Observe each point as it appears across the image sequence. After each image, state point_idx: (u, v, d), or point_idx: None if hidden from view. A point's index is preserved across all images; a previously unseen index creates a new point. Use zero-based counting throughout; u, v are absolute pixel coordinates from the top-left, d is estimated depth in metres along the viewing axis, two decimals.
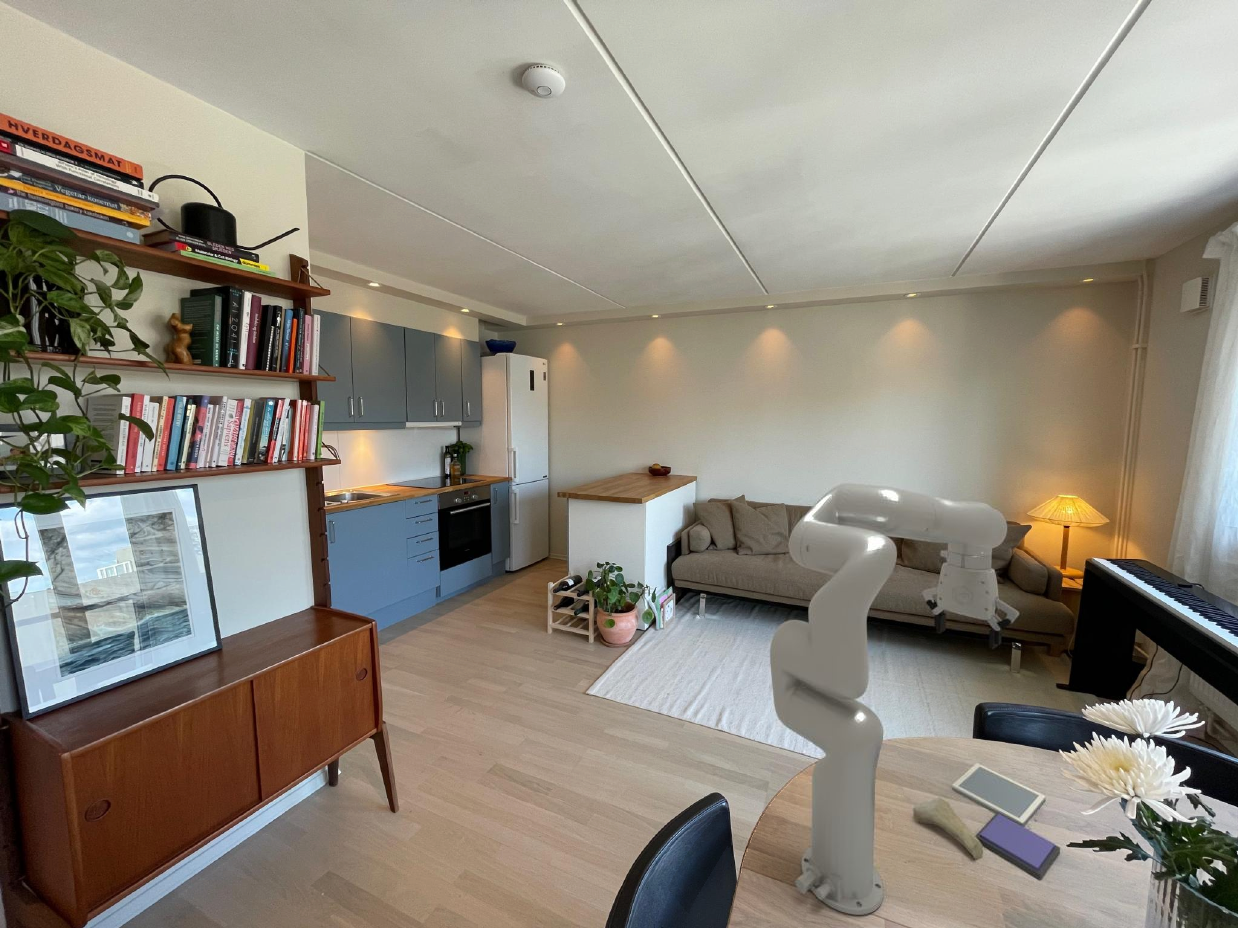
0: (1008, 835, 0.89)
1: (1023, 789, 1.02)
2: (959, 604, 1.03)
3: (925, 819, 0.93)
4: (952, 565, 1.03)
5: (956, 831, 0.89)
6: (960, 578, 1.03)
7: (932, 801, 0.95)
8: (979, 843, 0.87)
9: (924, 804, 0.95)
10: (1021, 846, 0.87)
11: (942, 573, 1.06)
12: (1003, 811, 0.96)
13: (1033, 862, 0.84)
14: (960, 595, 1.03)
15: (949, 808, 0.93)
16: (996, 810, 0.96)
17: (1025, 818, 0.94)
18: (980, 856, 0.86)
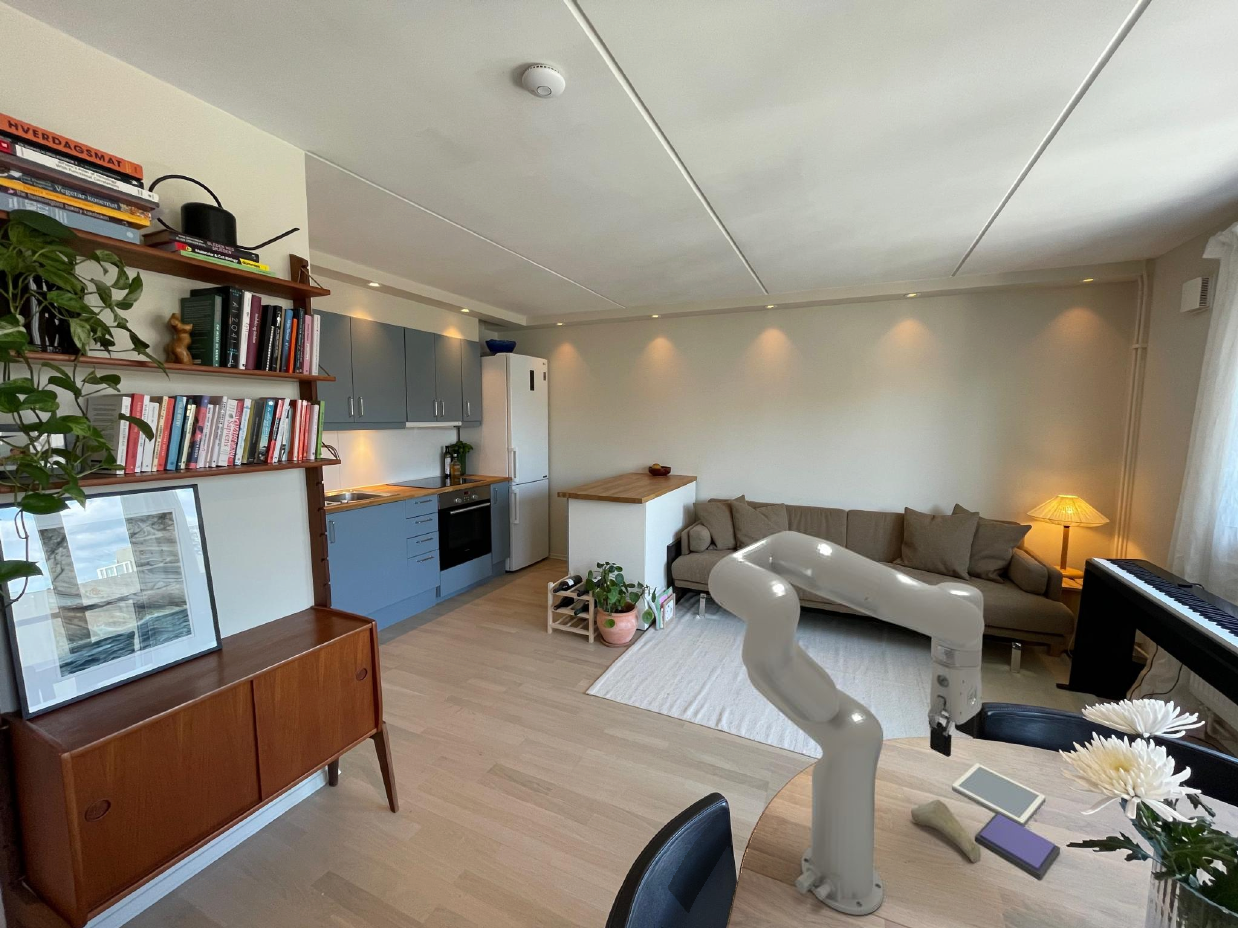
0: (1008, 835, 0.89)
1: (1023, 789, 1.02)
2: (970, 708, 0.87)
3: (923, 822, 0.93)
4: (971, 667, 0.85)
5: (953, 834, 0.89)
6: (971, 678, 0.87)
7: (930, 803, 0.94)
8: (977, 846, 0.87)
9: (922, 806, 0.94)
10: (1021, 846, 0.87)
11: (960, 682, 0.85)
12: (1003, 811, 0.96)
13: (1033, 862, 0.84)
14: (971, 697, 0.87)
15: (947, 810, 0.92)
16: (996, 810, 0.96)
17: (1025, 818, 0.94)
18: (978, 859, 0.86)
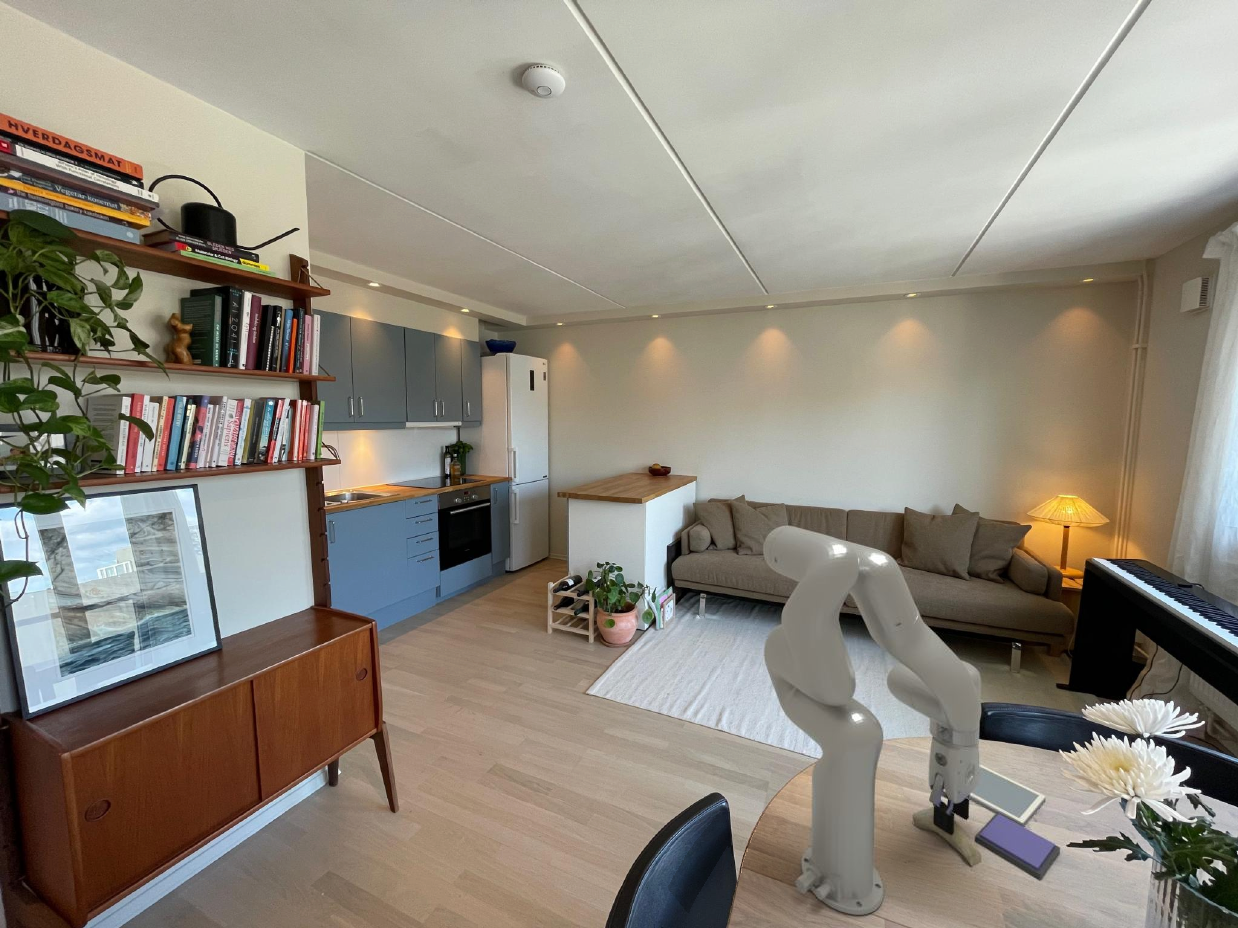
0: (1008, 835, 0.89)
1: (1023, 789, 1.02)
2: (968, 785, 0.88)
3: (924, 826, 0.93)
4: (968, 746, 0.86)
5: (954, 839, 0.88)
6: (969, 756, 0.88)
7: (932, 808, 0.94)
8: (977, 852, 0.86)
9: (923, 811, 0.94)
10: (1021, 846, 0.87)
11: (958, 761, 0.86)
12: (1003, 811, 0.96)
13: (1033, 862, 0.84)
14: (968, 775, 0.88)
15: None
16: (996, 810, 0.96)
17: (1025, 818, 0.94)
18: None
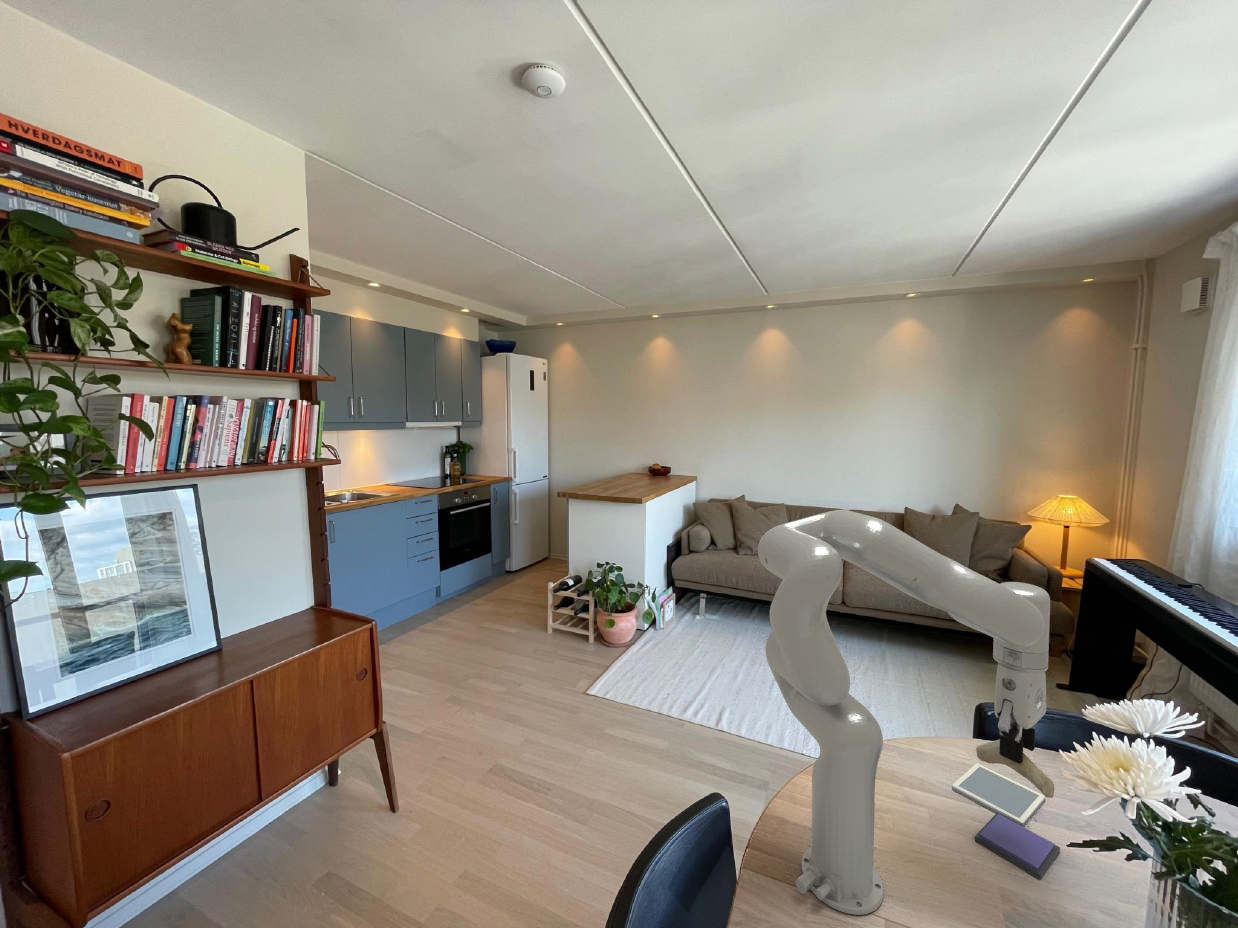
0: (1008, 835, 0.89)
1: (1023, 789, 1.02)
2: (1037, 711, 0.84)
3: (989, 758, 0.89)
4: (1038, 669, 0.83)
5: (1024, 769, 0.84)
6: (1038, 680, 0.84)
7: (997, 741, 0.90)
8: (1050, 781, 0.82)
9: (988, 743, 0.90)
10: (1021, 846, 0.87)
11: (1028, 685, 0.82)
12: (1003, 811, 0.96)
13: (1033, 862, 0.84)
14: (1037, 700, 0.84)
15: None
16: (996, 810, 0.96)
17: (1025, 818, 0.94)
18: (1051, 794, 0.82)
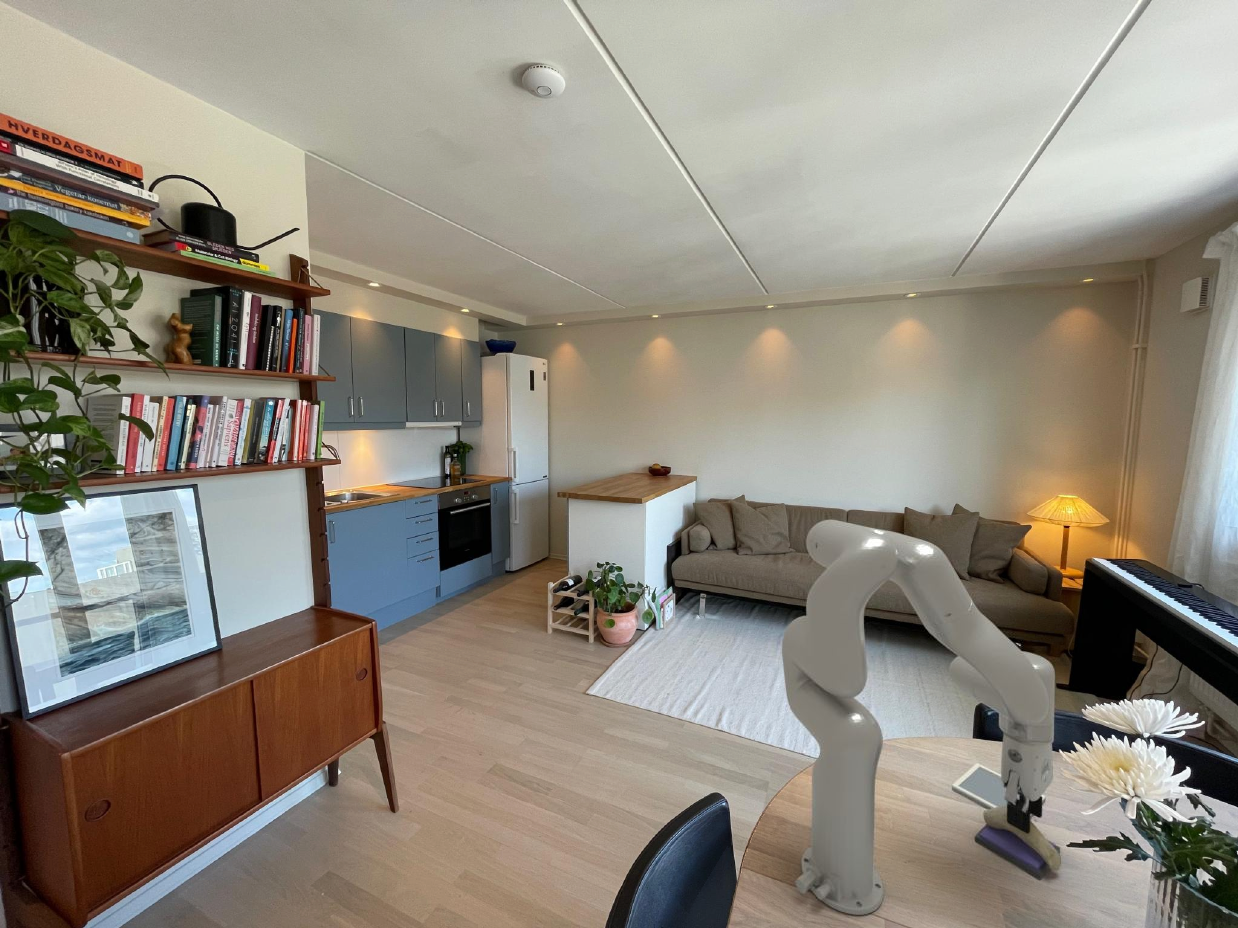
0: (1008, 835, 0.89)
1: None
2: (1044, 782, 0.85)
3: (996, 824, 0.90)
4: (1044, 742, 0.83)
5: (1030, 838, 0.85)
6: (1044, 751, 0.85)
7: (1005, 806, 0.91)
8: (1056, 853, 0.83)
9: (995, 809, 0.91)
10: (1021, 846, 0.87)
11: (1034, 758, 0.83)
12: None
13: (1033, 862, 0.84)
14: (1044, 771, 0.85)
15: None
16: None
17: None
18: (1057, 866, 0.82)
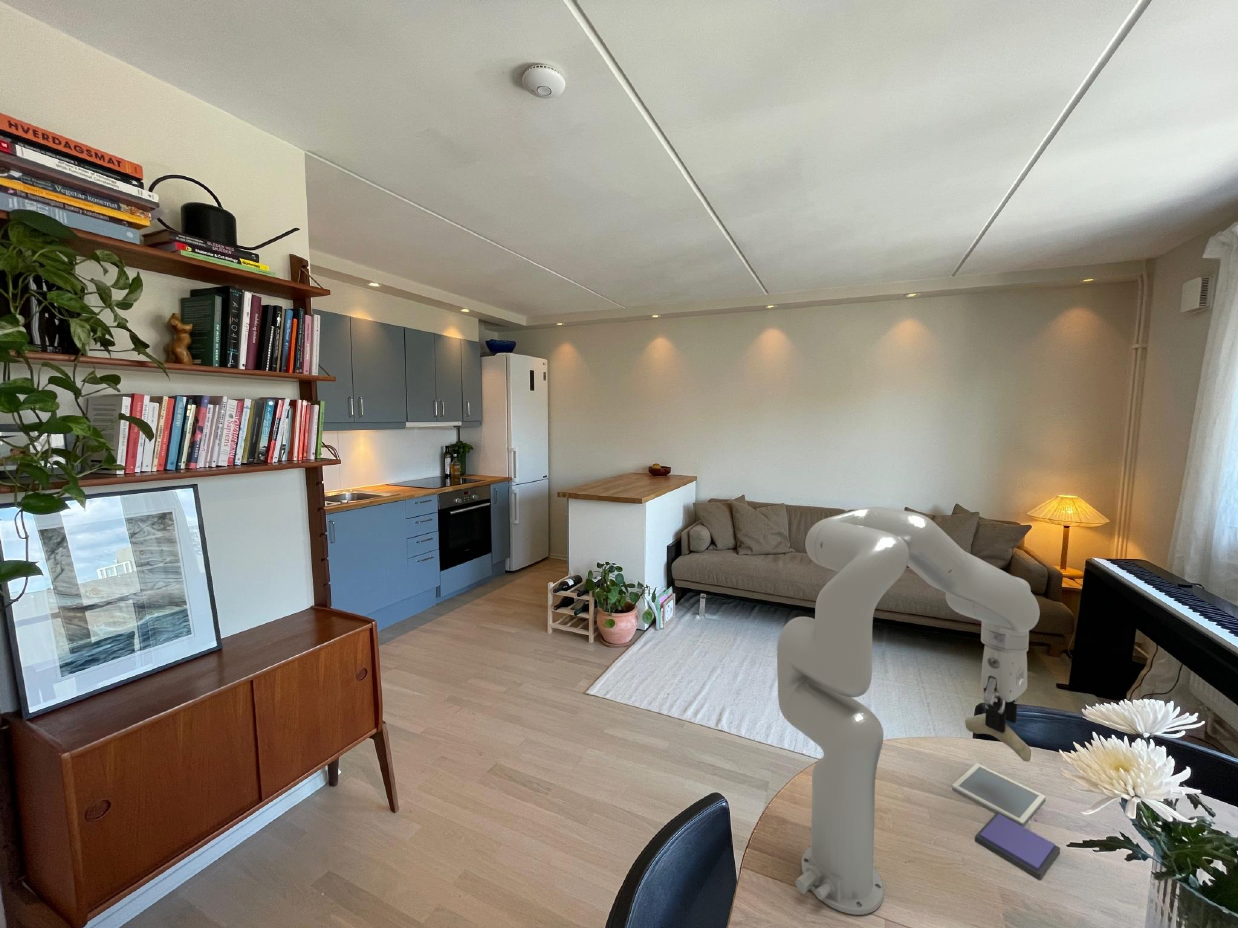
0: (1008, 835, 0.89)
1: (1023, 789, 1.02)
2: (1018, 687, 0.97)
3: (976, 729, 1.01)
4: (1019, 650, 0.95)
5: (1005, 737, 0.97)
6: (1019, 660, 0.96)
7: (984, 714, 1.02)
8: (1027, 747, 0.94)
9: (976, 716, 1.03)
10: (1021, 846, 0.87)
11: (1010, 663, 0.95)
12: (1003, 811, 0.96)
13: (1033, 862, 0.84)
14: (1019, 677, 0.97)
15: None
16: (996, 810, 0.96)
17: (1025, 818, 0.94)
18: (1028, 758, 0.94)
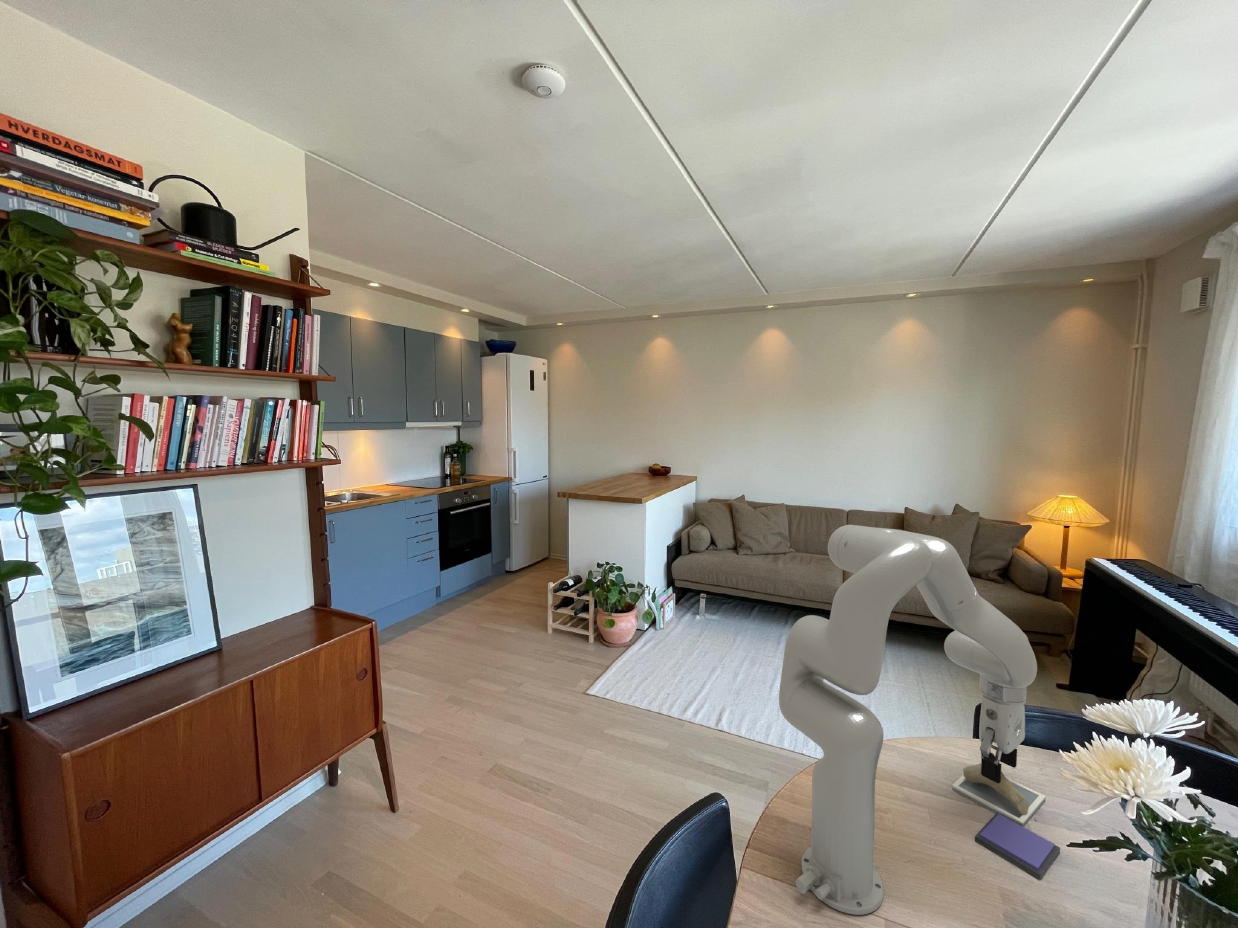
0: (1008, 835, 0.89)
1: (1023, 789, 1.02)
2: (1016, 738, 0.97)
3: (974, 778, 1.02)
4: (1017, 702, 0.96)
5: (1003, 788, 0.98)
6: (1017, 711, 0.97)
7: None
8: (1025, 800, 0.95)
9: (974, 765, 1.03)
10: (1021, 846, 0.87)
11: (1008, 715, 0.95)
12: (1003, 811, 0.96)
13: (1033, 862, 0.84)
14: (1016, 729, 0.97)
15: None
16: (996, 810, 0.96)
17: (1025, 818, 0.94)
18: (1025, 811, 0.95)
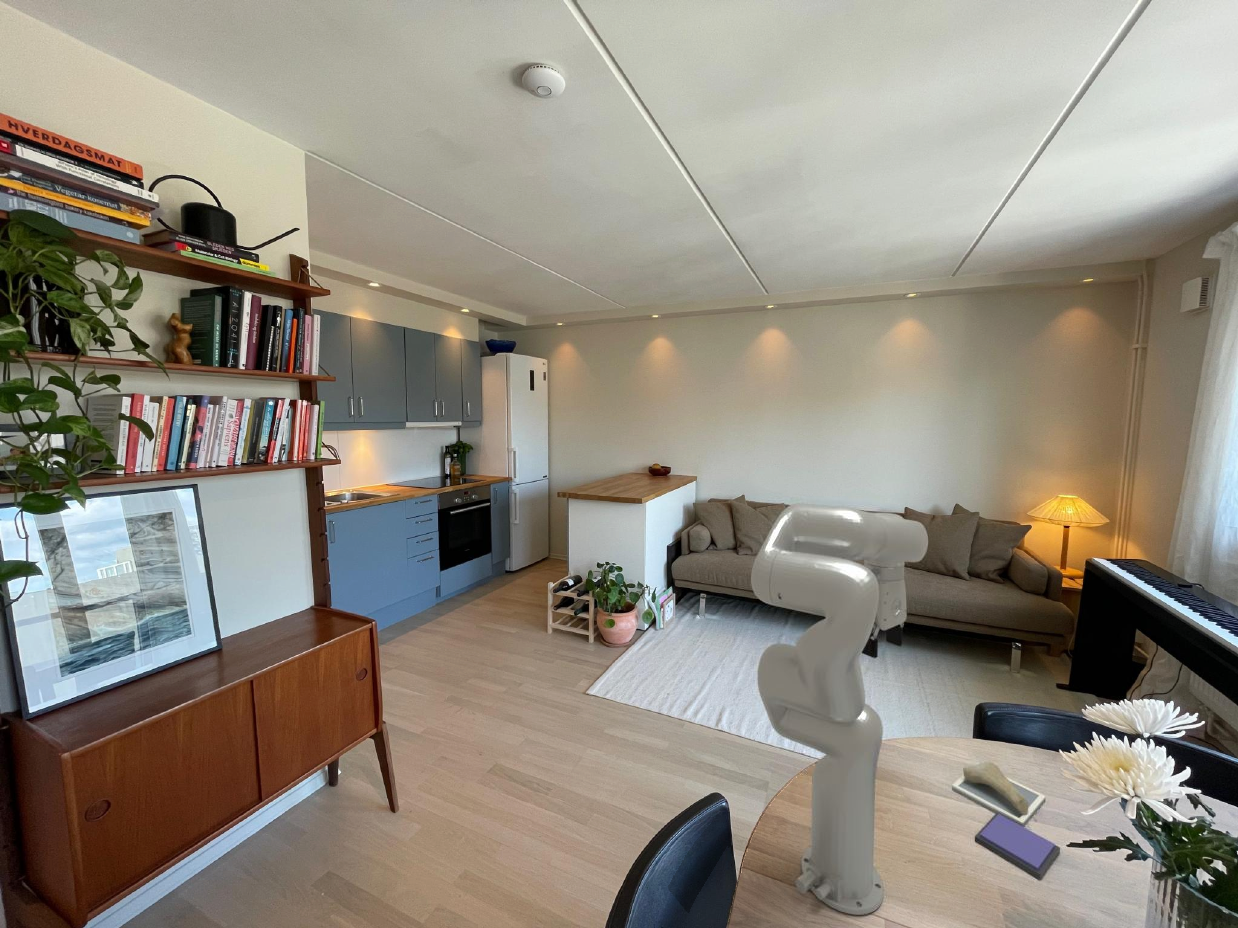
0: (1008, 835, 0.89)
1: (1023, 789, 1.02)
2: (894, 617, 1.02)
3: (974, 778, 1.02)
4: (894, 581, 1.01)
5: (1003, 788, 0.98)
6: (895, 591, 1.02)
7: (982, 763, 1.03)
8: (1025, 800, 0.95)
9: (974, 765, 1.03)
10: (1021, 846, 0.87)
11: (884, 593, 1.00)
12: (1003, 811, 0.96)
13: (1033, 862, 0.84)
14: (895, 608, 1.02)
15: (998, 771, 1.01)
16: (996, 810, 0.96)
17: (1025, 818, 0.94)
18: (1025, 811, 0.95)
